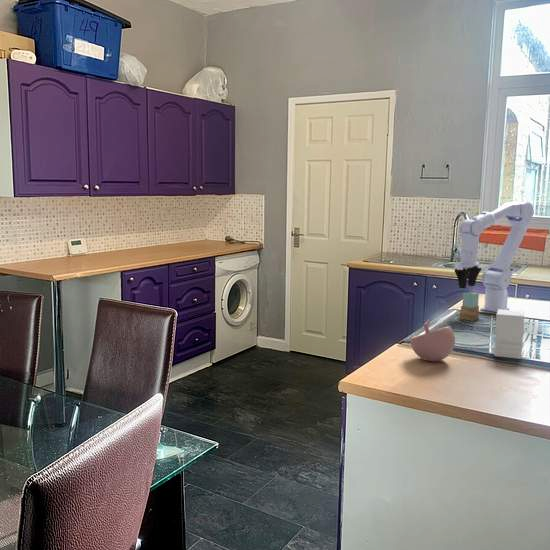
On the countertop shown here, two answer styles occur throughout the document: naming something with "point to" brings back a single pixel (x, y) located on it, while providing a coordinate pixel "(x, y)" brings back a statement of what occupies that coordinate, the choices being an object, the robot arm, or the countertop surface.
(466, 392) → the countertop surface
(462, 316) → the tower base
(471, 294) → the teal block
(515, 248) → the robot arm
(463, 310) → the tower top
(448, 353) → the pink apple
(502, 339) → the supplement box
